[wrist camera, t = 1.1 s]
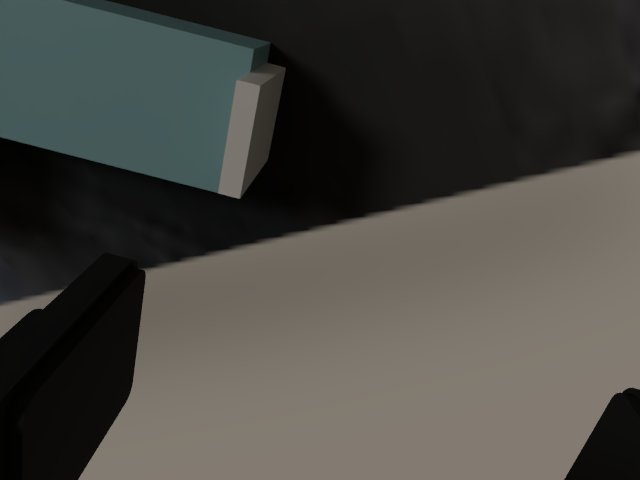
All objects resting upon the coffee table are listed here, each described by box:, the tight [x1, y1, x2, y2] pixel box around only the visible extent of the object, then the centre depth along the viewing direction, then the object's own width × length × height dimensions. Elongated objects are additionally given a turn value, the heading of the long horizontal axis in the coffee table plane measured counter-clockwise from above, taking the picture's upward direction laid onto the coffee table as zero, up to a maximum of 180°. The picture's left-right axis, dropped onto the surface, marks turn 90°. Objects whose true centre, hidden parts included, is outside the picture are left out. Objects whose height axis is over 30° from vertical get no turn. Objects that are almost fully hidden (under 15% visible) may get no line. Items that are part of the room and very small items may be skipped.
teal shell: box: [0, 0, 286, 199], centre depth 26 cm, size 15×7×6 cm, turn 77°
